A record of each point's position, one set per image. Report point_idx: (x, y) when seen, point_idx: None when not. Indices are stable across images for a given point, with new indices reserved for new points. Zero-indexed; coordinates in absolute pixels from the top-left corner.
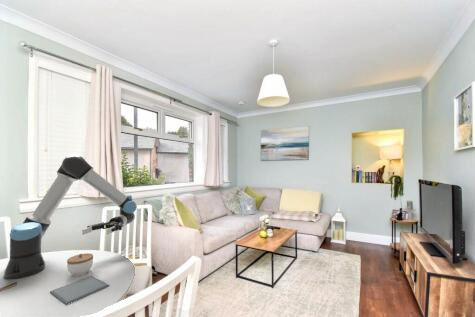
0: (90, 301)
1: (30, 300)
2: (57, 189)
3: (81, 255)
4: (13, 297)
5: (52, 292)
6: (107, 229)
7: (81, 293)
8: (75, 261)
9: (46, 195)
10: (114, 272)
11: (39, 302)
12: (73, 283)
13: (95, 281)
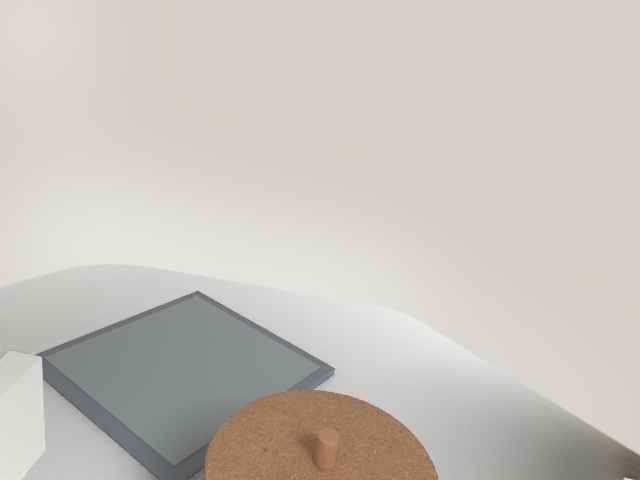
0: (106, 295)
1: (374, 345)
2: None
3: (316, 444)
4: (480, 377)
5: (313, 358)
6: (20, 353)
7: (160, 323)
8: (312, 391)
9: None
10: None
11: (321, 328)
12: None
13: (117, 399)
